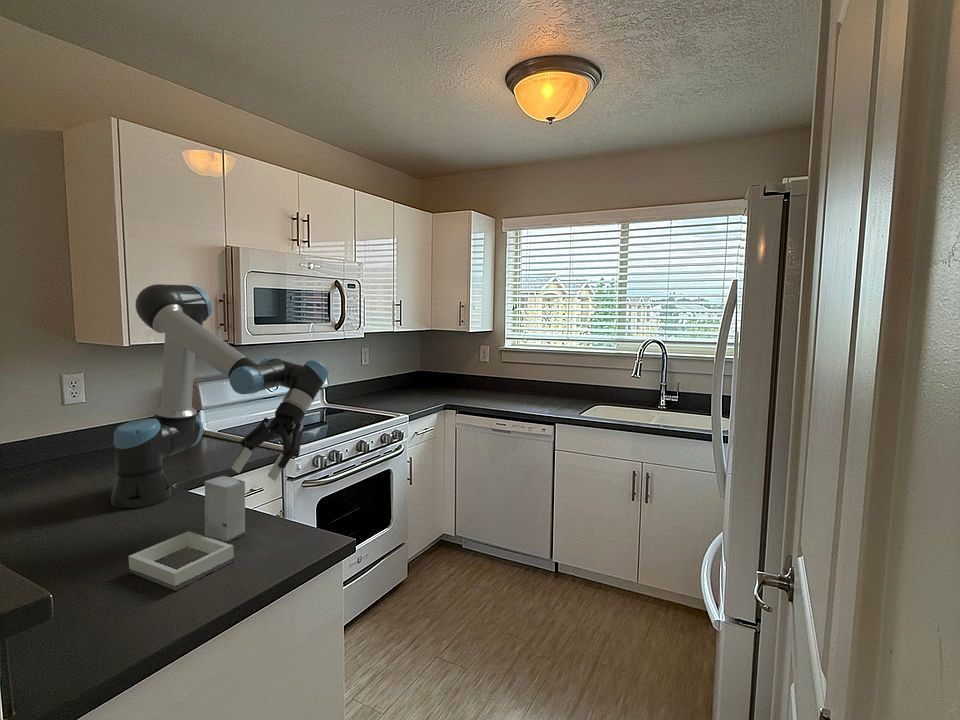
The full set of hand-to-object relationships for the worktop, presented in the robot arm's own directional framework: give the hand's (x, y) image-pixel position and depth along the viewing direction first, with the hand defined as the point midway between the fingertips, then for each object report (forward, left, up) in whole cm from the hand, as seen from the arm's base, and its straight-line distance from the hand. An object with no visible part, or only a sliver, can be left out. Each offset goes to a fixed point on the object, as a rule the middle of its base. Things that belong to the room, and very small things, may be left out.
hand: (252, 474), depth 139 cm
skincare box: (-1, -8, -14) cm, 16 cm away
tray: (+4, -23, -14) cm, 27 cm away
